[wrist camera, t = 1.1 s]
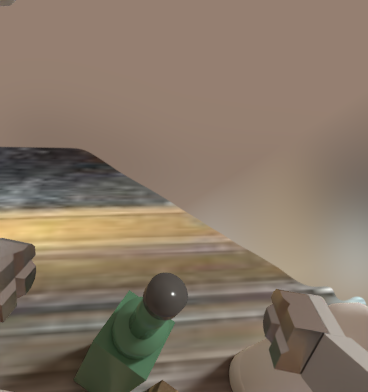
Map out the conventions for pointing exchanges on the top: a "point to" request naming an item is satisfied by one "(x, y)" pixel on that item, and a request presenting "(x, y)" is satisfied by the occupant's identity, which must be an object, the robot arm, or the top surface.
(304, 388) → the bottle
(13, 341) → the top surface
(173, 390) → the oak rest
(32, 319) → the top surface
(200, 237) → the top surface
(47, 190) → the top surface
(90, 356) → the green bottle
